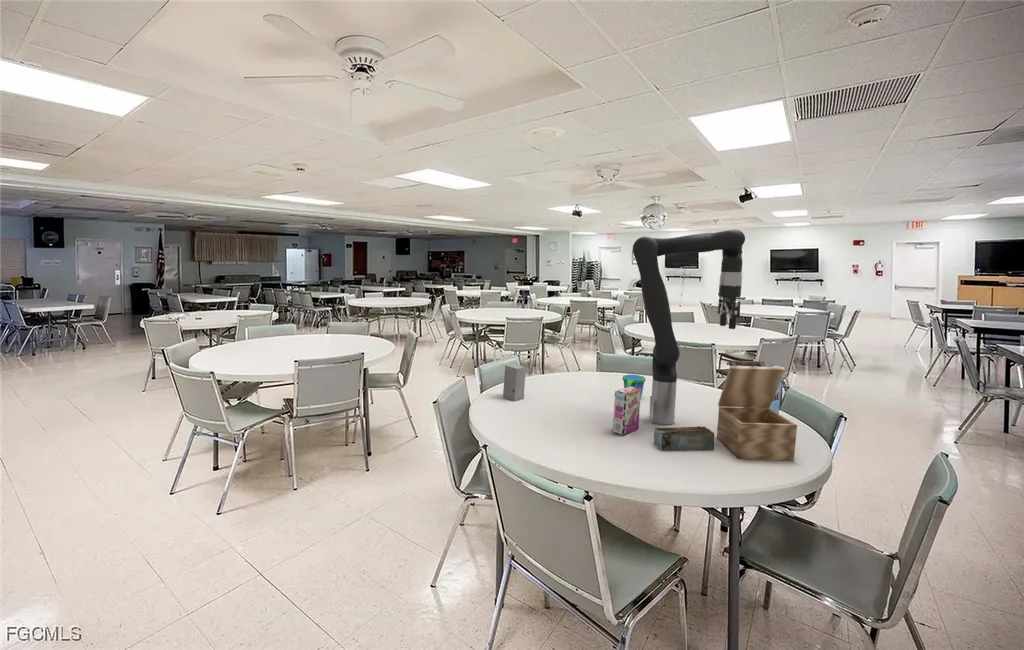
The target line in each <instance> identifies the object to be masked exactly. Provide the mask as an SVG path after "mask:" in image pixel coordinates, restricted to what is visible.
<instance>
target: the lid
mask: <svg viewBox="0 0 1024 650" xmlns="http://www.w3.org/2000/svg"><path fill="white" fill-rule="evenodd" d="M727 364H728V366H729V368H728V371H727V374H726V378H725V382H724V384H723V388H722V391H721V394H720V398H719V400H718V404H717V405H718V408H719V407H737V408H743V407H750V408H770V405H771V403H772V401H773V398H774V396H775V393H776V391H777V388H778V386H779V383H780V381H781V378H782V379H783V376H784V374H785V372H786V371H785V370H786V369H785V367H783V366H779V367H767V366H766V365H765V364H766V363H765V361H762V360H760V361H759V360H728V363H727Z"/></svg>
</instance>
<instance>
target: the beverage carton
mask: <svg viewBox="0 0 1024 650" xmlns="http://www.w3.org/2000/svg"><path fill="white" fill-rule="evenodd" d="M653 444H654V445H657V446H656V447H657V448H658V449H659V450H660V451H662V452H663V451H664V452H666V451H667V452H669V451H671V452H672V450H676V452H677V450H678V451H699V450H700V451H704V450H705V451H709V450H711V451H713V450H715V432H714V431H711V429H709V428H707V427H706V426H700V425H699V426H681V427H654V429H653Z"/></svg>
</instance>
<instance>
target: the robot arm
mask: <svg viewBox="0 0 1024 650" xmlns="http://www.w3.org/2000/svg"><path fill="white" fill-rule="evenodd" d="M745 242H746V236H745V233H743V231H741V230H740V229H728V230H722V231H717V232H706V233H705V232H704V233H694V234H688V235H682V236H676V237H669V238H667V237H665V238H660V237H659V238H657V237H649V236H641V237H639V238H638V239H636V240H635V241H634V243H633V245H632V254H633V255H634V259H635V262H636V265H637V268H638V272H639V278H640V285H641V287H640V288H641V293H642V299H643V300H642V301H643V305H644V306H643V307H644V309H645V313H646V316H647V319H648V322H649V324H650V326H651V327H650V328H651V329H652V331H653V338H654V343H655V344H654V346H653V349H652V368H651V369H652V370H651V371H652V384H651V385H652V386H651V395H650V398H649V416H648V417H649V420H650V422H652V424H659V425H666V426H667V425H672V424H674V423H675V417H676V416H675V415H676V414H675V413H676V401H677V400H676V399H677V398H676V397H677V395H676V394H677V382H678V381H677V379H678V373H677V362H678V360H679V358H680V348H679V346H678V343H677V340H676V335H675V334H674V329H673V323H672V321H673V320H672V314H671V307H670V302H669V297H668V292H667V289H666V286H665V283H664V280H663V277H662V275H661V272H660V268H659V260H658V259H659V257H660V256H666V255H674V254H675V255H676V254H695V253H696V254H697V253H700V254H701V253H709V252H713V251H721V253H722V254H721V255H722V259H721V265H720V266H721V269H720V276H719V283H718V284H719V285H718V297H720V298H719V299H718V305H717V314H718V315H719V326H721V327H726V326H727V318H729V319H728V329H729V330H735V329H736V325H737V319H738V318H739V319H740V316H741V301H740V300H737V298H740V297H741V295H742V285H743V284H742V282H743V257H742V254H743V253H742V252H743V245H744V244H745ZM727 316H728V317H727Z"/></svg>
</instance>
